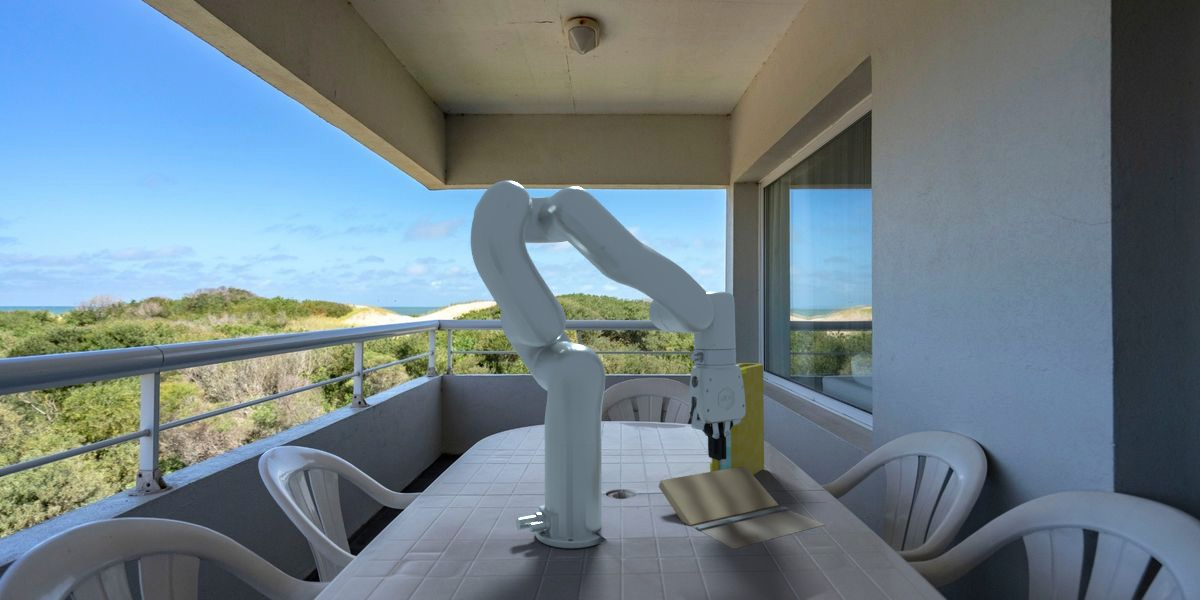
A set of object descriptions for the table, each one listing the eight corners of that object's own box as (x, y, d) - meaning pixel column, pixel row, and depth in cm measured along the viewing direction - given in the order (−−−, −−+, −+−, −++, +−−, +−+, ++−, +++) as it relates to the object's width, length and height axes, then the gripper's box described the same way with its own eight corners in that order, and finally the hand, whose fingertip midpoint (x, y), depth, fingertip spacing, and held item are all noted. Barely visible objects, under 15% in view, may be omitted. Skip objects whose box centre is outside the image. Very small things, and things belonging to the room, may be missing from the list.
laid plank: (733, 558, 83) (733, 546, 83) (692, 535, 92) (691, 524, 92) (825, 533, 93) (825, 522, 93) (780, 514, 102) (779, 504, 102)
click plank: (688, 530, 93) (690, 524, 93) (658, 486, 101) (660, 480, 100) (775, 510, 103) (778, 504, 102) (742, 471, 110) (745, 465, 110)
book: (740, 491, 115) (739, 370, 115) (710, 485, 119) (709, 368, 119) (769, 473, 128) (768, 364, 129) (742, 468, 132) (741, 362, 133)
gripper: (695, 362, 96) (697, 469, 96) (759, 357, 103) (762, 457, 103) (670, 359, 103) (672, 459, 102) (732, 355, 110) (734, 448, 109)
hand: (717, 458), depth 103 cm, fingers closed
